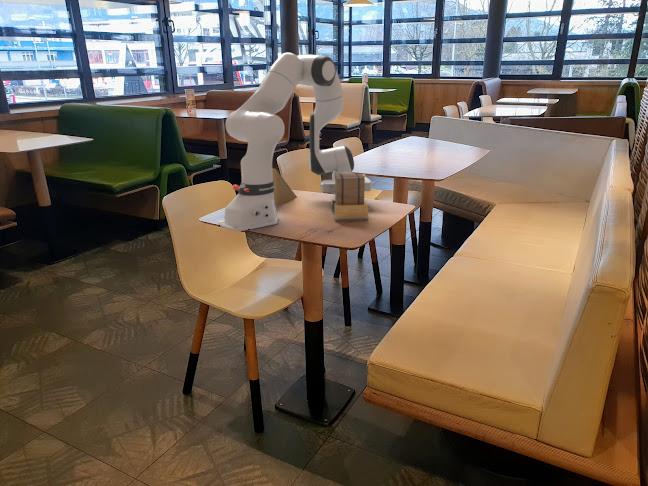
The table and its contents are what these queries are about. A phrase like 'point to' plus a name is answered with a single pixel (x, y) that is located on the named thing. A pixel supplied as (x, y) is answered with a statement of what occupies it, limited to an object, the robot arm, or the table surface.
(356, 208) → the roller track
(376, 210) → the table surface
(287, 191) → the sandwich container
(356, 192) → the crate
